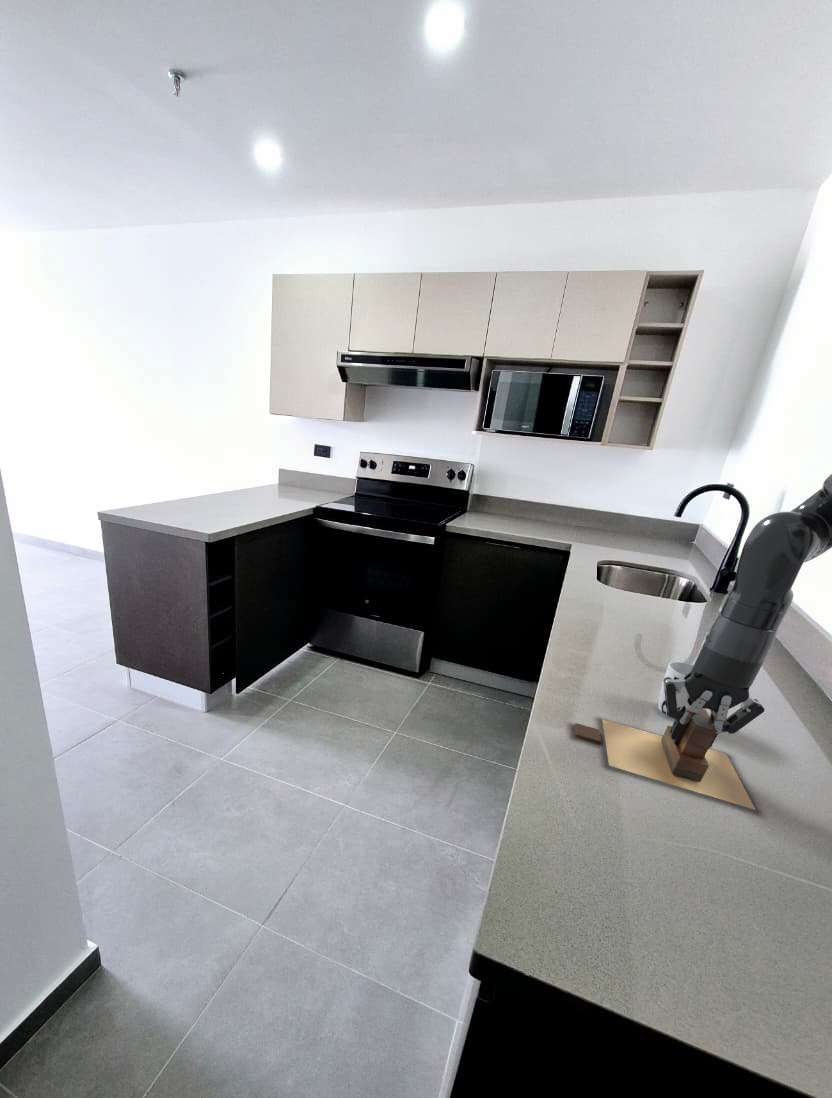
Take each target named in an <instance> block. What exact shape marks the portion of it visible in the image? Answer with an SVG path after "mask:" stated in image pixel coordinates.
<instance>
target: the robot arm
mask: <svg viewBox="0 0 832 1098" xmlns="http://www.w3.org/2000/svg"><path fill="white" fill-rule="evenodd" d="M831 549H832V473H831V474H829V476H827V477H826V479H825V480H824V481H823V483H822V487H821V488H820V489H819V490H817V491H816V492H814V493H813V494H812V495H810V496H808V498H807V499H805V500H804V501H803V502H802V503H801V504H799V505H797V506H796V507H795V508H793V509H792V510H789V511H778V512H774V513H771V514H769V515H767V516H765V517H764V518H762V519H761V520H760V521H758V522H757V523H756V524H755V525H754V526H753V528H752V529H751V531H750V532H749V533H748V535H747V537H746V540H745V542H744V544H743V546H742V549H741V553H740V556H739V559H738V565H737V569H736V571H735V578H734V582H733V586H732V588H731V589H730V591H729V593H728V595H727V597H726V599H725V601H724V604H723V606H722V608H721V610H720V613H719V614H718V617H717V618H716V619H715V621H714V622H713V624H712V626H710V629H709V631H708V633H707V634H706V635H705V638H704V639H705V640H704V642H703V645H702V646H701V648H700V650H699V652H698V655H697V658H696V659H695V662H694V664H693V665H694V666H693V668H692V671H691V672H690V673H689V674H688V675H686V676H685V677H684V679H674V680H672V679H671V678H670V677H666V678H664V677H663V679H664V680H662V682H664V692H665V701H666V709H667V711H668V714H669V716H668V717H669V718H672V719H674V721H673V723H672V725H671V726H672V727H671V729H670V736H671V739H672V740H673V743H676V744H679V743H680V741H681V739H682V737H683V735H684V733H685V731H686V729H687V727H688V725H687V724H688V723H689V721H690V720H691V719H692V717H693V716H694V715H696V714H697V713H698V712H699V711H700V710H701V708H702V709H706V710H709V711H710V714H709V716H710V718H711V720H712V722H713V724H714V726H715V727H716V729H717V733H716V735H715V737H714V739H713V741H712V743H711V745H710V747H709V749H711V748H712V746H713V745H714V742H715V741H716V739H717V737H718V735H719V734H720V733H728V734H730V735H733V734H736V733H737V732H739V731H740V730H741V729H743V728H744V727H746V726H747V725H748V724H749V723H751V722H752V721H754V720H755V719H756V718H757V717H759V716H760V715H762V714H763V713H764V712H765V711H766V710H765V707H764V706H763V704H762V703H761V702H760V701H759V699H756V698H753V697H751V696H750V691H749V690H750V687H751V686H752V685H753V684H754V682H755V680H756V678H757V676H758V674H759V672H760V670H761V668H762V666H763V665H764V663H765V660H766V659H767V656H768V654H769V653H770V652H771V649H772V647H773V645H774V642H775V639H776V636H777V633H778V631H779V629H780V627H781V625H782V623H783V622H784V619H785V618H786V616H787V614H788V611H789V610H790V608H791V605H792V603H793V599H794V592H793V590H792V588H793V585H795V581H796V579H797V577H798V575H799V573H800V571H801V568H802V566H803V565H804V563H807V562H811V561H812V560H814V559H816V558H818V557H819V556H821V555H823V554H824V553H826V552H827V551H829V550H831ZM682 687H686V690H687V693H688V696H687V698H686V699H685V700H684V703H683V705H682V707H681V708H680V709H678V708H677V701H676V694H678V693H680V692H681V688H682ZM739 705H740V708H738V709H737V710H736V711H734V712H733V713H732V714H730V715H729V716H728V714H729V710H730V709H732V708H734V707H736V706H739Z"/></svg>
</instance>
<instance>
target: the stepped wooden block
mask: <svg viewBox="0 0 832 1098" xmlns="http://www.w3.org/2000/svg"><path fill="white" fill-rule="evenodd" d="M687 725H688V727H687V729H686V731H685V733H684V735H683V737H682V739H681V741H680V743H679V744H676V743H673V740H672V739H671V736H670V729H671V727H672V725H667V727H666V729H665V731H664V733H663V735H662V736H663V737H662V740H661V742H662V745H663V748H664V751H665V754H666V757H667V760H668V763H669V766H670V769H671V772H672V774H674V775H678V776H681V777H684V778H688V779H691V780H694V781H698V782H701V780H702V778H703V776H704V775H705V773H706V771H707V769H708V767H709V765H708V763H707V760H706V758H705V754H706V752H707V750H708V749H710V748H709V747H710V745H711V743H712V741H713V739H714V737H715V735H716V733H717V729H716V727H715V726H714V724H713V722H712V720H711V718H710V714H709V712H708V711H707V709H702V708H701V710H700V711H699V712H698V713H697V714H696V715H694V716H693V717H692V719H691V720H690V721H689V723H688V724H687Z"/></svg>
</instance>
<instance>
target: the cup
mask: <svg viewBox="0 0 832 1098" xmlns="http://www.w3.org/2000/svg"><path fill="white" fill-rule="evenodd" d="M693 666H694V664H691V663H687V662H682V661H671V662H669V663H668V665H667V668H666V671H665V674H664V677H663V680H664V678H666V677H670V678H671V679H672V680H674V679H684V677H685V676H686V675H688V674H689V673H690V672H691V671H692V668H693ZM663 680H662V683H661V687H660V690H659V691H660V692H659V696H658V710H659V711H660V712H661V713H663V714H664V715H665V716H668V717H670V716H669V714H668V711H667V709H666V701H665V692H664V682H663ZM687 696H688V693H687V690H686V687H682V688H681V692H680V693H678V694H676V701H677V708H678V709H680V708H681V707H682V705H683V703H684V700H685V699H686V698H687Z"/></svg>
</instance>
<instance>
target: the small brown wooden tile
mask: <svg viewBox="0 0 832 1098" xmlns="http://www.w3.org/2000/svg"><path fill="white" fill-rule="evenodd" d="M574 736H575V738H577V739H581V740H584V741H588V742H591V743H594V744H598V745H601V743H602V738H601V731H600V729H598V728H595V727H591V726H588V725H584V724H581V723H577V722H575V724H574Z"/></svg>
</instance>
